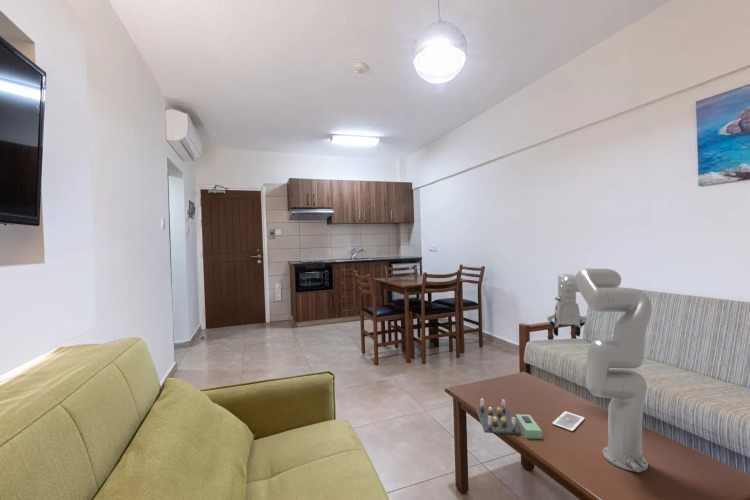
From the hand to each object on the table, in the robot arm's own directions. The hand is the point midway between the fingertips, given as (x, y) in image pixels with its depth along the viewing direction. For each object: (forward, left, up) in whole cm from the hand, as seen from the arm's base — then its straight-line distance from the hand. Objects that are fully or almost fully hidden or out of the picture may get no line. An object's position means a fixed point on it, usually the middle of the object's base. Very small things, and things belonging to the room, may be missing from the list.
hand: (566, 335), depth 160 cm
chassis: (-24, +38, -31) cm, 55 cm away
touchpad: (-21, +8, -32) cm, 39 cm away
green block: (-29, +27, -32) cm, 51 cm away
